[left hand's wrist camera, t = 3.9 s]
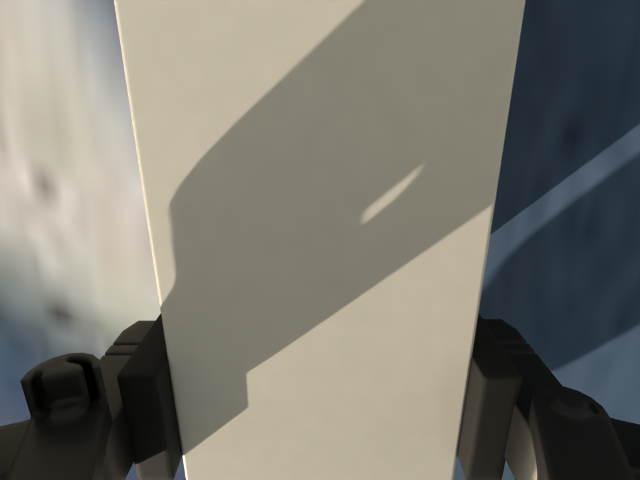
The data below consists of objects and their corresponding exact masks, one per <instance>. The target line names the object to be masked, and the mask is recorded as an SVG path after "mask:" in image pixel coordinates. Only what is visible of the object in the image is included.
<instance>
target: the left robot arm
mask: <svg viewBox="0 0 640 480" xmlns="http://www.w3.org/2000/svg"><path fill="white" fill-rule="evenodd" d="M20 382H21V385H22V388H23V391H24V395H25V398H26V401H27V404H28V408H29V411H30V414H31V418H30V419H29V420H26V421H23V422H18V423H14V424H9V425H5V426H0V480H125V478H126V476H127V474H128V472H129V470H130V468H131V466H132V464H133V462H135V467H136V472H137V477H138V480H173V479H174V476H175V474H176V471H177V468H178V466H179V463H180V460H181V458H182V448H181V441H180V435H179V428H178V421H177V415H176V408H175V402H174V395H173V388H172V382H171V375H170V368H169V362H168V355H167V348H166V342H165V335H164V329H163V322H162V315H161V314H160V315H159V317H158V318H157V320H156V321H138V322H136V323H135V324H133V325H131V326H130V327H128V328H127V329H125V330H124V331H123V332H122V333H121V334H120V335H119V337H118V338H117V339H116V340H115V342H114V343H113V345H111V347H110V348H109V349H108V350H107V352H106V353H105V356H103V357H102V358H101V359H100V360H99V359H97V358H96V357H95V356H94V355H91V354H86V353H72V354H66V355H62V356H58V357H54V358H52V359H50V360H47V361H45V362H43V363H41V364H39V365H37V366H36V367H35V368H33V369H32V370H30V371H29V372H27V374H26V375H25V376H24V377H23V379H22V380H21V381H20ZM457 456H458V459H459V461H460V464H461V467H462V470H463V472H464V475H465V478H466V480H502V475H503V470H504V465H505V460H506V461H507V463H508V465H509V467H510V469H511V471H512V473H513V475H514V477H515V480H640V425H639V424H634V423H630V422H625V421H621V420H617V419H613V418H610V417H609V415H608V414H607V413H606V411H605V410H604V408H603V407H602V406H601V405H600V404H598V403H597V402H596V401H595V400H593V399H592V398H591V397H589V396H587V395H585V394H583V393H581V392H579V391H577V390H574V389H570V388H567V387H563V386H562V385H561V384H560V383H559V381H558V380H557V379H556V378H555V376H554V375H553V374H552V373H551V371H550V370H549V369H548V368H547V366H546V365H545V364H544V363H543V362H542V360H541V359H540V358H539V357H538V355H537V354H535V353H534V350H533V349H532V348H531V347H530V345H529V344H527V343H526V341H525V339H524V338H523V337H522V336H521V334H520V333H519V332H518V331H517V330H516V329H515V328H513V327H512V326H510V325H509V324H507V323H506V322H504V321H503V320H501V319H482V318H481V316H480V315H479V313H478V318H477V325H476V332H475V338H474V345H473V352H472V358H471V365H470V371H469V378H468V385H467V391H466V398H465V405H464V411H463V418H462V425H461V431H460V438H459V444H458V451H457Z"/></svg>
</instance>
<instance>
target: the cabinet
mask: <svg viewBox="0 0 640 480" xmlns="http://www.w3.org/2000/svg"><path fill="white" fill-rule="evenodd" d="M114 3H115V10H116V17H117V23H118V30H119V36H120V43H121V50H122V56H123V63H124V70H125V76H126V83H127V90H128V96H129V103H130V109H131V116H132V123H133V129H134V136H135V143H136V149H137V156H138V163H139V169H140V176H141V182H142V189H143V196H144V202H145V209H146V216H147V222H148V229H149V236H150V242H151V249H152V255H153V262H154V269H155V275H156V282H157V289H158V295H159V302H160V309H161V315H162V322H163V329H164V335H165V342H166V348H167V355H168V362H169V368H170V375H171V382H172V388H173V395H174V402H175V408H176V415H177V421H178V428H179V435H180V441H181V448H182V455H183V461H184V468H185V475H186V480H453V478H454V471H455V464H456V458H457V451H458V444H459V438H460V431H461V425H462V418H463V411H464V405H465V398H466V391H467V385H468V378H469V371H470V365H471V358H472V352H473V345H474V338H475V332H476V325H477V318H478V312H479V305H480V299H481V292H482V285H483V279H484V272H485V265H486V259H487V252H488V245H489V239H490V232H491V226H492V219H493V212H494V206H495V199H496V192H497V186H498V179H499V173H500V166H501V159H502V153H503V146H504V139H505V133H506V126H507V119H508V113H509V106H510V100H511V93H512V86H513V80H514V73H515V66H516V60H517V53H518V47H519V40H520V33H521V27H522V20H523V13H524V7H525V0H114Z"/></svg>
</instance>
